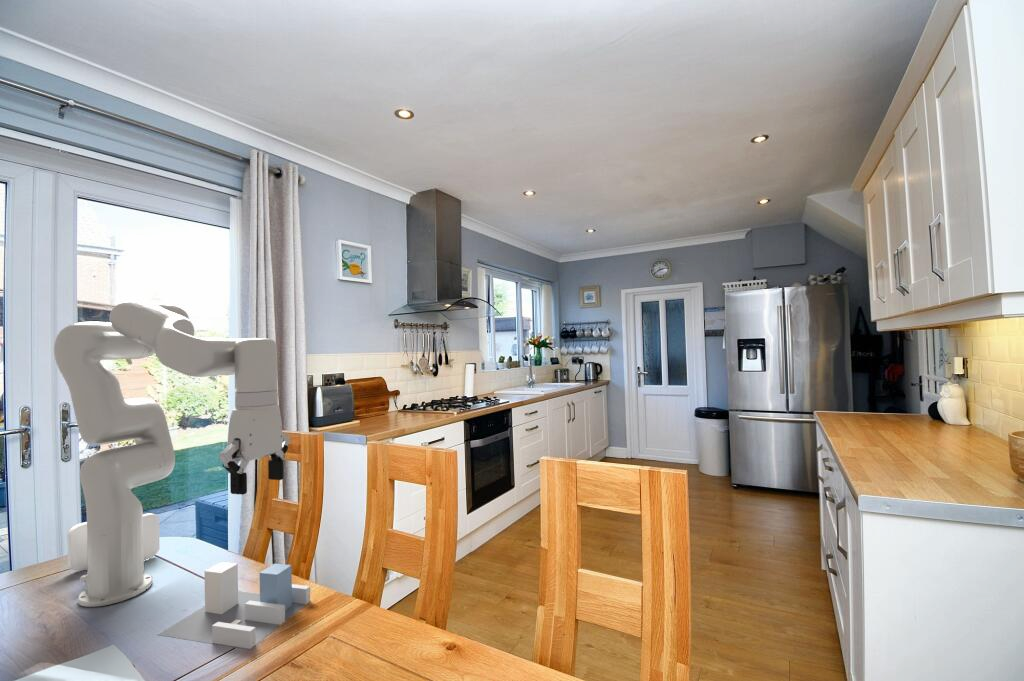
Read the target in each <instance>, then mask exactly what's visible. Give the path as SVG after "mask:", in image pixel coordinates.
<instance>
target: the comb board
mask: <svg viewBox="0 0 1024 681" xmlns="http://www.w3.org/2000/svg"><path fill="white" fill-rule="evenodd" d="M311 601H312V600H311V586H310V585H302V584H295V583H292V606H291V607H290V608H288V609H287V610H286V611H285V605H280V604H273V603H265V602H260V593H254V592H245V591H239V590H238V604H237V605H235V606H233V607H232V608H230V609H229V610H227V611H226V612H224V613H223V614H217V613H209V612H205V605H204V606H202V607H201V608H198V609H197V610H196V611H194V612H192V613H191V614H189V615H188V616H186V617H185V618H183V619H181V620H180V621H178V622H176V623H174V624H173V625H171V626H170V627H168V628H166V629H165V630H163V631H162V632H160V633H158V634H157V636H160V637H166V638H167V637H168V638H173V639H179V640H187V641H192V642H198V643H203V644H210V645H211V644H212V645H217V646H222V647H223V646H225V647H229V648H236V649H240V650H242V649H243V650H248V651H250V650H251V649H252V648H254V647H255V646H256V645H257V644H259V643H260V642H262V641H263V640H264V639H265V638H266V637H267V636H269V635H270V634H271V633H272V632H274V631H275V630H276V629H277V628H279V627H281V625H283V624H284V623H285V622H286V621H288V620H290V618H291V617H293V616H294V615H295V614H296V613H297V612H299V611H300V610H301V609H303V608H304V607H305V606H307V604H309V603H310V602H311Z"/></svg>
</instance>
